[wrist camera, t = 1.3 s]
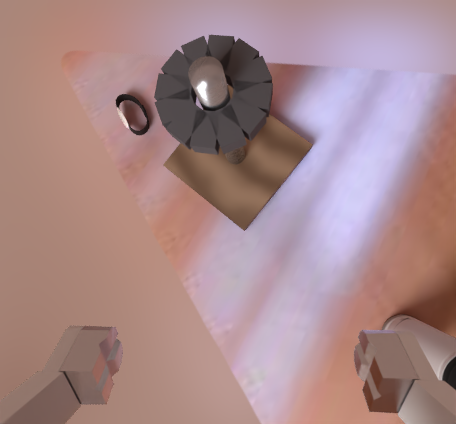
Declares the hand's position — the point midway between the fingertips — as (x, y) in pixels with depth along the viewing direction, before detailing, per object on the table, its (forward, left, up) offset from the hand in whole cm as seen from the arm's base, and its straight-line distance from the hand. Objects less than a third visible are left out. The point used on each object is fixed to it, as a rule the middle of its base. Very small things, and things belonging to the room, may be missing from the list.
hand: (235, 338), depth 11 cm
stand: (-11, -14, -40) cm, 44 cm away
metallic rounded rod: (-11, -14, -38) cm, 42 cm away
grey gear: (-11, -14, -19) cm, 26 cm away
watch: (-6, -33, -40) cm, 52 cm away
